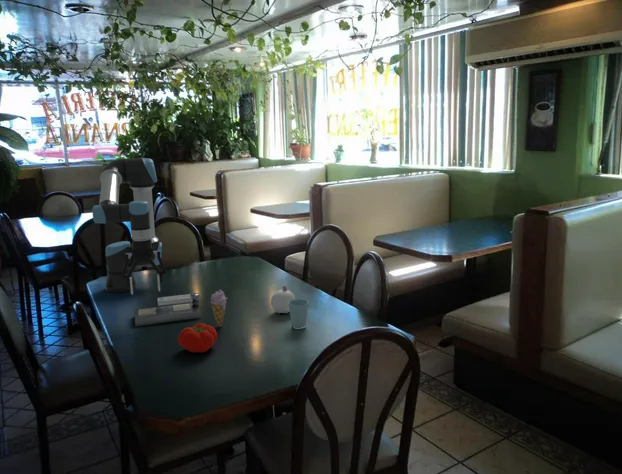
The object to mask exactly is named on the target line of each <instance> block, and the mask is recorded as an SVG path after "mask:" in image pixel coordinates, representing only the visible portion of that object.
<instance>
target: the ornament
mask: <svg viewBox="0 0 622 474" xmlns="http://www.w3.org/2000/svg"><path fill="white" fill-rule="evenodd" d="M295 299H296V297H295V295H294V293H293V292H292V291H290V290H288V289H287V286H286V285H283V286H282V288H281V289H278V290H276V291H275V292H274V293H273V294H272V296H271V299H270V305H271V308H272V310H273V311H275V312H276V313H278V314H280V313H286V314H289V313H290V309H289V301H291V300H295ZM288 312H289V313H288Z"/></svg>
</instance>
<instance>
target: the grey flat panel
mask: <svg viewBox="0 0 622 474" xmlns="http://www.w3.org/2000/svg"><path fill="white" fill-rule="evenodd" d="M156 300H157V307H161V306H170V305H178V304H187V303H192V302H193V301H199V302H200V300H201V293H199V292H192V293H188V294H187V293H186V294H179V295H178V294H177V295H169V296H161V297H157V299H156Z"/></svg>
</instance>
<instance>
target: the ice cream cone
mask: <svg viewBox="0 0 622 474" xmlns="http://www.w3.org/2000/svg"><path fill="white" fill-rule="evenodd" d="M228 299H229V298H228V297H226V295H225V292H224V291H223V290H221V289H218V291H217V290H216V291H215V293H212V294H211V297H210V300H211V301H210V305H211V309H212V313H213V316H214V318H215V319H214V320H215V322H216V325H217V327H218V328H222V326H223V321H224V318H225V314H226V308H227V300H228Z"/></svg>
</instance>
